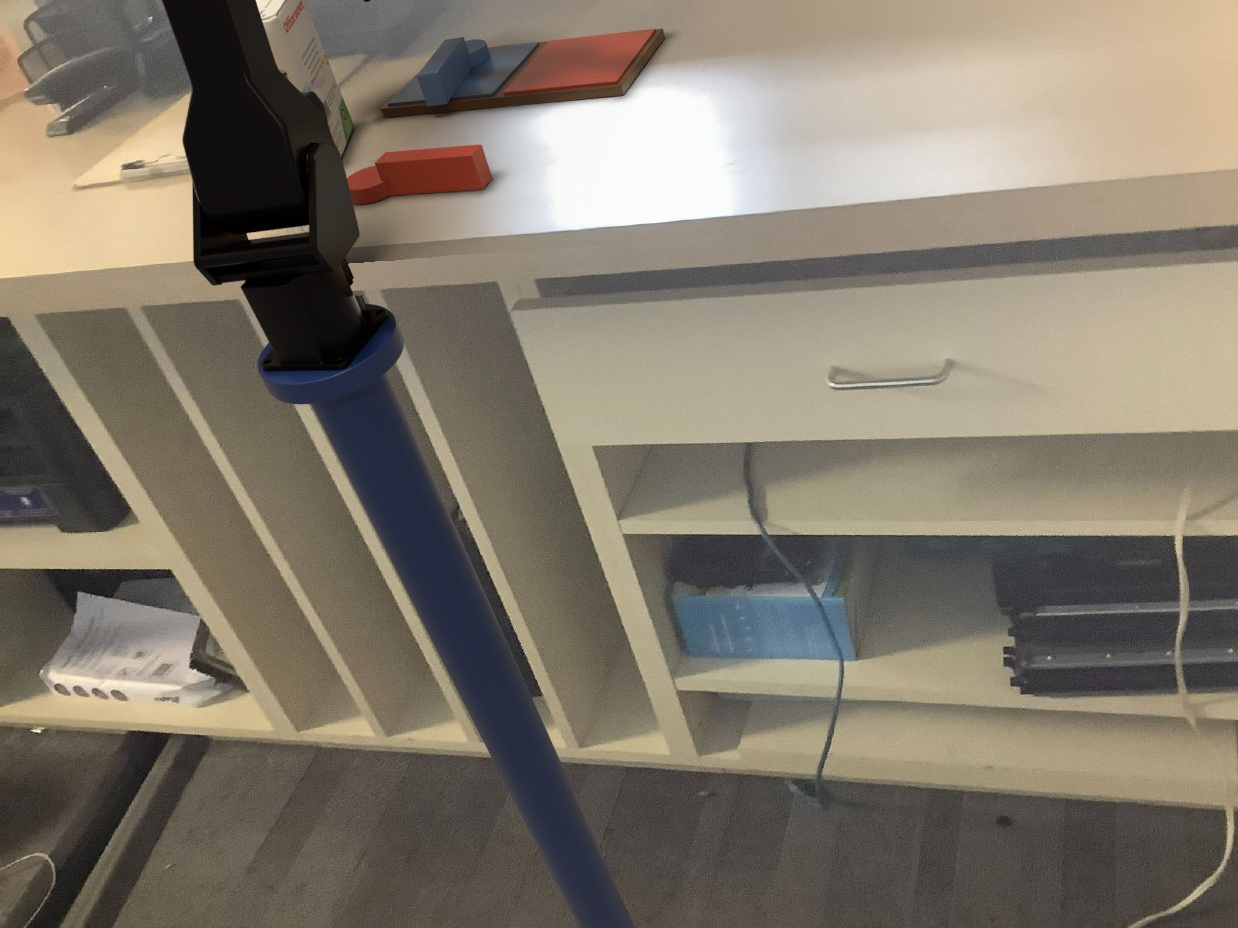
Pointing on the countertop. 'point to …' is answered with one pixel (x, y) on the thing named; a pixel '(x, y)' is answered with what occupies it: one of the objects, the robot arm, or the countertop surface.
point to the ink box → (305, 60)
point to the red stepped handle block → (421, 173)
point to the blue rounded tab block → (450, 68)
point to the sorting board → (542, 73)
